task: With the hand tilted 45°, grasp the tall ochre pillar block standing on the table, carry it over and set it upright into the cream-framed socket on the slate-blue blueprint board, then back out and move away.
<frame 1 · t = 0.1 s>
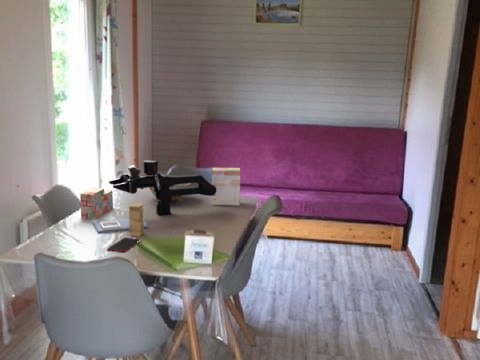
hand: (111, 184, 226), 17 cm above the table, tool horizontal, fingers open, 9 cm apart
cell phone: (124, 246, 194), on the table
bowl: (169, 199, 268), on the table
stack of blocks: (97, 213, 238), on the table
coffeecake box: (225, 204, 263), on the table
blueprint board: (120, 225, 219), on the table
pillar block: (136, 234, 209), on the table
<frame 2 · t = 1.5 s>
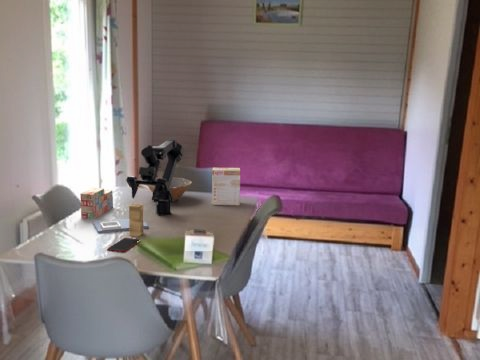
hand: (142, 198, 213), 14 cm above the table, tool tilted 45°, fingers open, 9 cm apart
nothing on the table moved.
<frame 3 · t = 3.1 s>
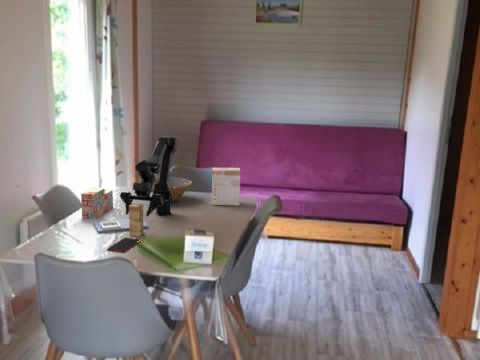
hand: (136, 215, 207), 8 cm above the table, tool tilted 45°, fingers open, 9 cm apart
nothing on the table moved.
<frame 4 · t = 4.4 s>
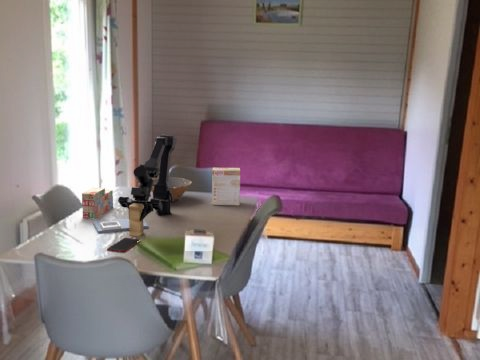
hand: (135, 220, 206), 7 cm above the table, tool tilted 45°, fingers closed on pillar block, 4 cm apart
pillar block: (136, 233, 209), on the table, touching gripper
everything else where it was.
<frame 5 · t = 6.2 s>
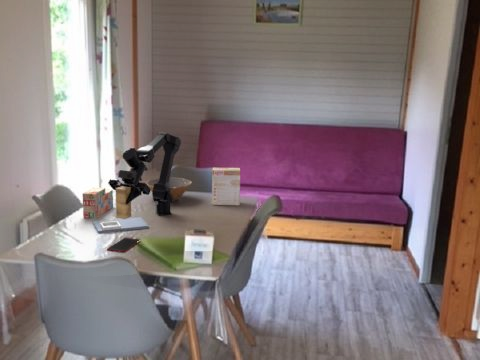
hand: (121, 203, 206), 13 cm above the table, tool tilted 45°, fingers closed on pillar block, 4 cm apart
pillar block: (123, 217, 209), point 7 cm above the table, touching gripper
when the fingers open (9 cm above the table, at t = 8.1 s): pillar block drops 2 cm, resting on blueprint board.
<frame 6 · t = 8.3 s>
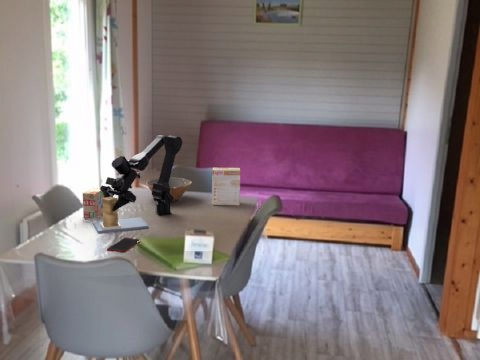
hand: (107, 209, 211), 9 cm above the table, tool tilted 45°, fingers open, 7 cm apart
pillar block: (110, 226, 214), point 1 cm above the table, touching blueprint board
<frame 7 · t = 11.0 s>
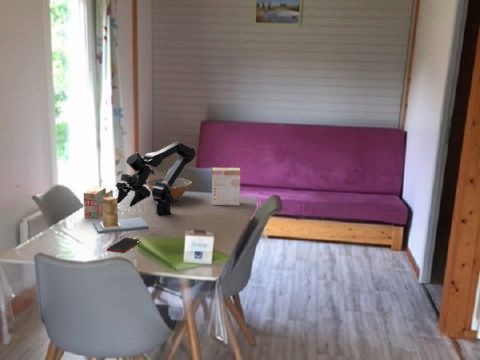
hand: (123, 204, 218), 9 cm above the table, tool tilted 45°, fingers open, 9 cm apart
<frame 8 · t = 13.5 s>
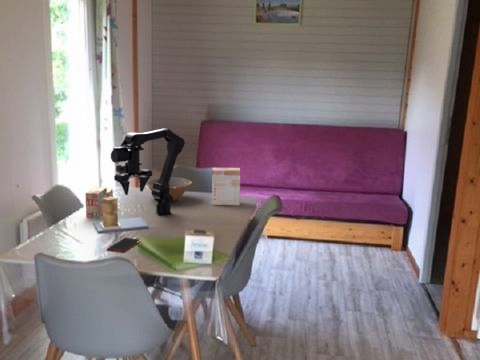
hand: (134, 193, 226), 13 cm above the table, tool pointing down, fingers open, 9 cm apart
at the end: pillar block 0.0 cm from the target spot on the blueprint board, point 1.1 cm above the blueprint board's base; pillar block tilted 0°; the gripper is holding nothing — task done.
